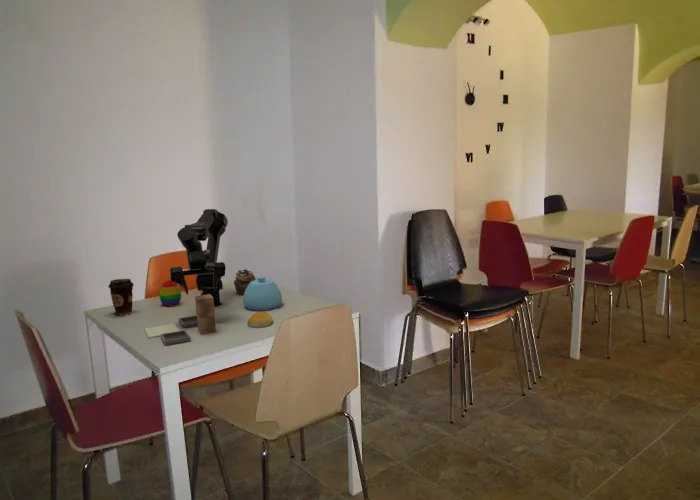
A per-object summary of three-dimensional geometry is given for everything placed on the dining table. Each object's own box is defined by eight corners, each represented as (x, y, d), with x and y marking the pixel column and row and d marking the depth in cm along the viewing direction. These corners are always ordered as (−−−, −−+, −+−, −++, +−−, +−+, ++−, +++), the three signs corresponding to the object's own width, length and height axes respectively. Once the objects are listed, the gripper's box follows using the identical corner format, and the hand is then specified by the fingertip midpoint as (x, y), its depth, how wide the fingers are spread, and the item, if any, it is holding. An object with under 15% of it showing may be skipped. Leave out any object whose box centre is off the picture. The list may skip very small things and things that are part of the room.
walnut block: (212, 327, 194) (209, 294, 192) (216, 331, 189) (213, 297, 187) (197, 330, 192) (195, 296, 189) (201, 334, 187) (198, 299, 185)
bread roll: (244, 328, 193) (243, 317, 192) (253, 320, 202) (252, 309, 201) (267, 329, 191) (267, 317, 191) (275, 320, 200) (275, 310, 199)
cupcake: (262, 292, 239) (260, 269, 237) (244, 297, 232) (242, 273, 230) (247, 288, 246) (246, 266, 244) (229, 293, 238) (228, 270, 237)
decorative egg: (173, 308, 219) (170, 283, 217) (156, 306, 222) (153, 281, 220) (186, 302, 227) (183, 278, 225) (169, 301, 230) (167, 277, 228)
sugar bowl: (278, 299, 228) (276, 271, 226) (286, 308, 214) (284, 279, 212) (240, 303, 223) (239, 274, 221) (246, 313, 209) (244, 283, 207)
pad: (174, 325, 198) (174, 323, 198) (179, 333, 189) (179, 331, 189) (144, 330, 193) (144, 328, 193) (148, 338, 185) (148, 337, 185)
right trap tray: (201, 318, 205) (201, 314, 204) (206, 324, 197) (205, 320, 197) (178, 322, 201) (178, 318, 201) (182, 328, 194) (182, 324, 194)
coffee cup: (120, 318, 208) (116, 284, 206) (106, 315, 212) (102, 281, 210) (140, 311, 215) (137, 278, 213) (126, 309, 220) (123, 276, 217)
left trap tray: (185, 334, 188) (185, 329, 188) (190, 341, 181) (190, 336, 180) (161, 338, 184) (160, 334, 184) (164, 345, 177) (164, 341, 177)
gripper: (167, 244, 192) (173, 282, 184) (222, 239, 199) (230, 276, 191) (168, 262, 201) (173, 300, 193) (221, 257, 208) (228, 293, 199)
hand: (201, 292), depth 194 cm, fingers open, 9 cm apart
